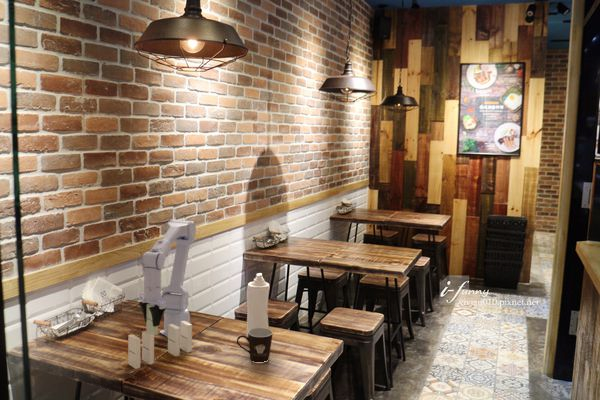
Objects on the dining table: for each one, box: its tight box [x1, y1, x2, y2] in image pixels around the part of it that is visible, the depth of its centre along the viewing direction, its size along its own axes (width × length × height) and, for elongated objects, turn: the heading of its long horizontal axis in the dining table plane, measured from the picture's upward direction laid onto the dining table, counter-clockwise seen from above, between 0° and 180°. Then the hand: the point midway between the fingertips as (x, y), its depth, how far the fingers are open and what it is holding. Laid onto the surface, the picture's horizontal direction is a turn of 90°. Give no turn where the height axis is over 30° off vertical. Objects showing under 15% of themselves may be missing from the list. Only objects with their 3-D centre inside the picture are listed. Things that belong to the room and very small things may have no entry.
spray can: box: [246, 272, 271, 337], centre depth 197 cm, size 12×11×25 cm
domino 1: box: [127, 333, 141, 370], centre depth 170 cm, size 2×5×10 cm, turn 46°
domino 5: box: [180, 321, 193, 353], centre depth 184 cm, size 2×5×10 cm, turn 46°
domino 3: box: [141, 330, 155, 365], centre depth 174 cm, size 2×5×10 cm, turn 46°
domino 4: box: [167, 324, 181, 357], centre depth 181 cm, size 2×5×10 cm, turn 46°
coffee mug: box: [236, 328, 274, 362], centre depth 179 cm, size 12×9×10 cm
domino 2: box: [145, 303, 159, 336], centre depth 180 cm, size 2×5×10 cm, turn 45°
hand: (152, 323), depth 181 cm, fingers closed on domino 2, 5 cm apart
